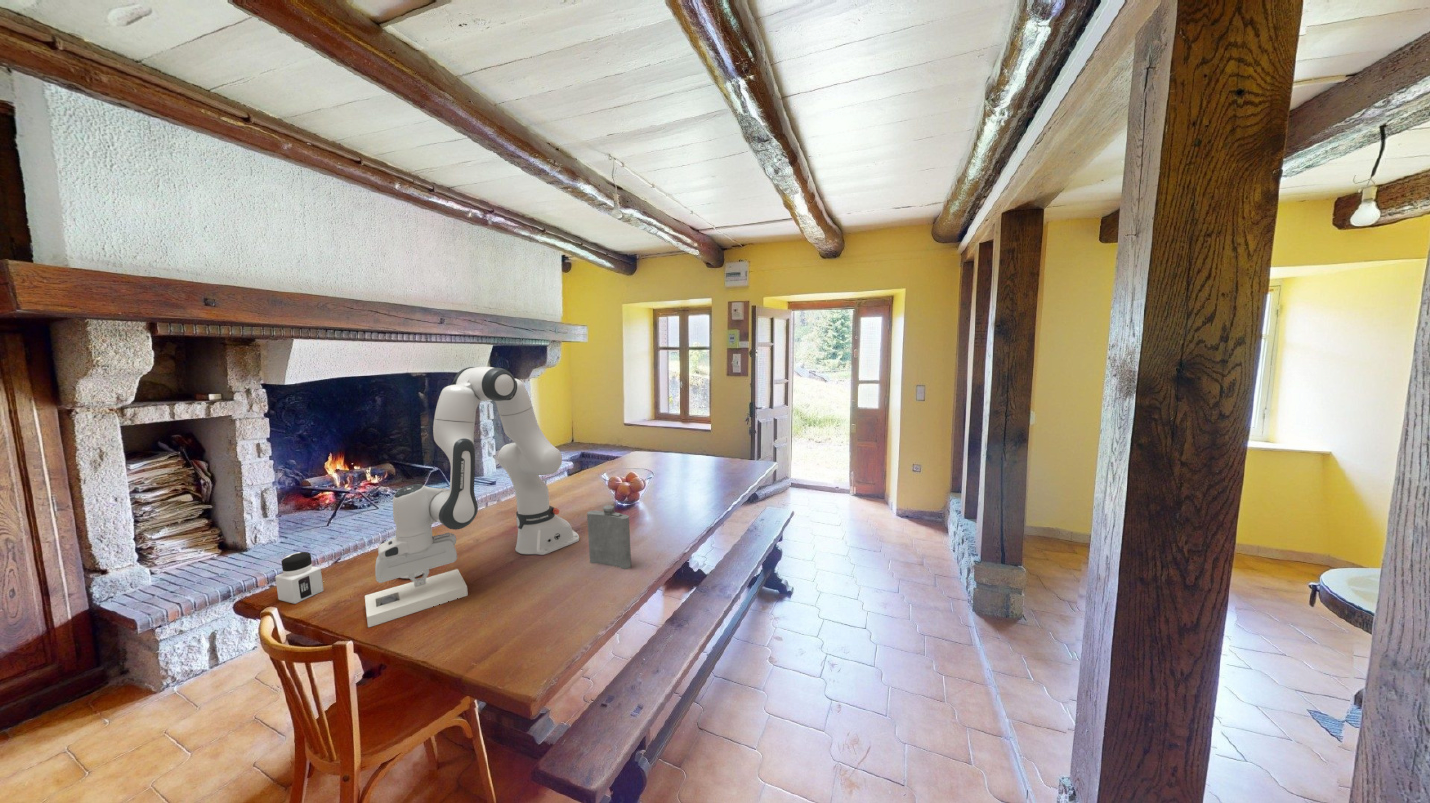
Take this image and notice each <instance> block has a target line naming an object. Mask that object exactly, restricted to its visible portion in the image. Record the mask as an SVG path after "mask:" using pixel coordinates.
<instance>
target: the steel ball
mask: <svg viewBox="0 0 1430 803" xmlns="http://www.w3.org/2000/svg"><path fill="white" fill-rule="evenodd" d="M395 601H397V598H396V597H395V596H394V595H387V596H385V597H384V598H383V599H382V600H381V602H380V606H382V605H385V604H388V603H391V602H395Z"/></svg>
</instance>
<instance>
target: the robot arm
mask: <svg viewBox="0 0 1430 803" xmlns="http://www.w3.org/2000/svg"><path fill="white" fill-rule="evenodd" d="M485 401H486V402H487V401H493V402H494V403H495V405H496V408H497V412H498V415H499V418H500V422H501V425H502V428H503V432H504V434H505V435H506V437H507V438H509V439H510V440H512V441H513V442H510V443H507V444H505V445H503V446H502V447H501V448H500V450H499V451H498V455H497V461H498V464H499V466H500V467H501V468H502V469H504V471H505V472H506V474H508V477H509V478H510V481H511V483H512V486H513V489H514V491H515V499H516V500H515V501H516V512H515V514H516V518H515V519H516V526H517V540H516V545H515V549H514V550H515V552H516V553H518V554H521V555H538V556H539V555H541V556H543V555H544V556H545V555H547V554H550V553H551V552H552V553H553V552H555V551H557V550H559V549H562V548H565V547H567V546H570V545H573V544H575V543H578V542H579V540H580V536H579V534H578V533H577V532H576V531H575V530H573V529H572V525H571V524H570V522H569V521H567V520H566V519H565V518H562V517H560V516H558V515H559V513H560V510H559V509H558V508H555V507H554V506H551V505H550V495H549V493H550V492H549V488H548V485H547V483H545V482H544V481H543V480H542V479H541V478H540V476H548V475H554V474H556V473H557V472H558V471H559V470H560V468H561V466H562V463H563V457H562V453H561V451H560V449H559V448H557V447H556V446H554V445H553V444H552V442H551V441H549V440H548V438H547V437H546V435H545V434H544V433H543V431H542V430H541V428H540V425H539V424H538V420H537V418H536V413H535V411H534V410H535V409H534V407H533V403H532V401H531V397H530V396H529V393H528V390H527V388H526V387H525V385H524V382H523V381H522V380H520V379H518V378H515V377H514V375H513V374H512V373H511V372H510V371H508V370H507V369H504V368H502V367H492V366H485V365H484V366H477V367H475V366H469V367H465V368H462V369H461V370H459V371H458V372H457V373H456V375H455V377H454V378H453V381H452V383H451V384H450V385H447V386H444V387H443V388H442V390H441V391H440V394H439V397H438V400H437V403H436V408H435V412H434V417H433V418H434V419H433V425H432V430H433V431H432V433H433V434H432V436H433V440H434V442H435V444H436V445H437V446H438V447H439V448H440V449H441V450H442V451H443V452H444V454H445V455H446V457H447V458H448V460H449V465H450V474H449V476H450V480H449V481H450V482H449V488H442V487H440V488H437V487H429V486H426V485H424V484H421V483H417V484H410V485H407V486H404V487H402V488H400V489H399V490H397V491H396V492H395V493H394V495H393V499H392V516H393V522H394V524H395V527H396V530H395V536H394V537H392V538H391V539H389V540H387V541H385V542H382V543H381V544H379V545H378V548H377V552H378V555H377V557H376V560H375V568H374V569H375V573H374V574H375V581H376V582H377V583H380V584H383V583H385V582H389V581H392V580H396V579H399V578H400V577H404V576H407V575H408V576H409V580H410V581H411V582H414V587H418V586H421V585H424V584H426V578H428V577H429V574H430V570H432V569H435V568H438V567H442V566H445V565H449V564H452V563H455V562H456V561H457V559H458V554H457V550H456V546H455V545H456V544H457V536H456V535H455V534H454V533H453V532H452V533H450V532H446V533H442V534H437V535H434V536H433V529H432V525H433V524H434V523H440V524H442V525H443V526H445V528H447V529H449V530H455V531H457V530H462V529H464V528H466V527H468V526H469V525H470V524H471V523H472V522H473V521H474V520H475V519H476V517H477V514H478V510H479V506H478V501H477V498H476V494H475V478H476V477H475V476H476V475H475V472H476V471H475V470H476V469H475V468H476V453H475V452H476V450H475V441H474V440H475V435H474V434H475V424H476V415H477V414H476V412H477V408H478V406H479V405H480V403H481V402H485ZM421 571H423V572H424V573H423V574H422V577H418V578H416V577H414V576H415V574H414V573H418V572H421ZM400 579H401V578H400Z"/></svg>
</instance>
